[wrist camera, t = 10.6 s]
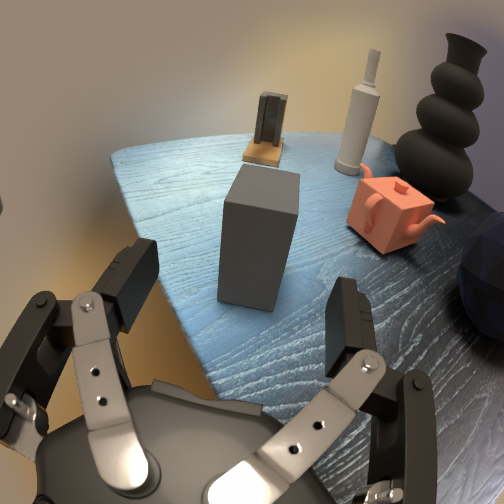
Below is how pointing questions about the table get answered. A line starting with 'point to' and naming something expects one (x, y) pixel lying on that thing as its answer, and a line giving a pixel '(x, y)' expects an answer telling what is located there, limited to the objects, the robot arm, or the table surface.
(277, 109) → the stand
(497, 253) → the decorative orb
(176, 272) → the table surface
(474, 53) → the vase
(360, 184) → the teapot
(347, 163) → the bottle
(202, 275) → the table surface
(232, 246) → the grey rectangular block
